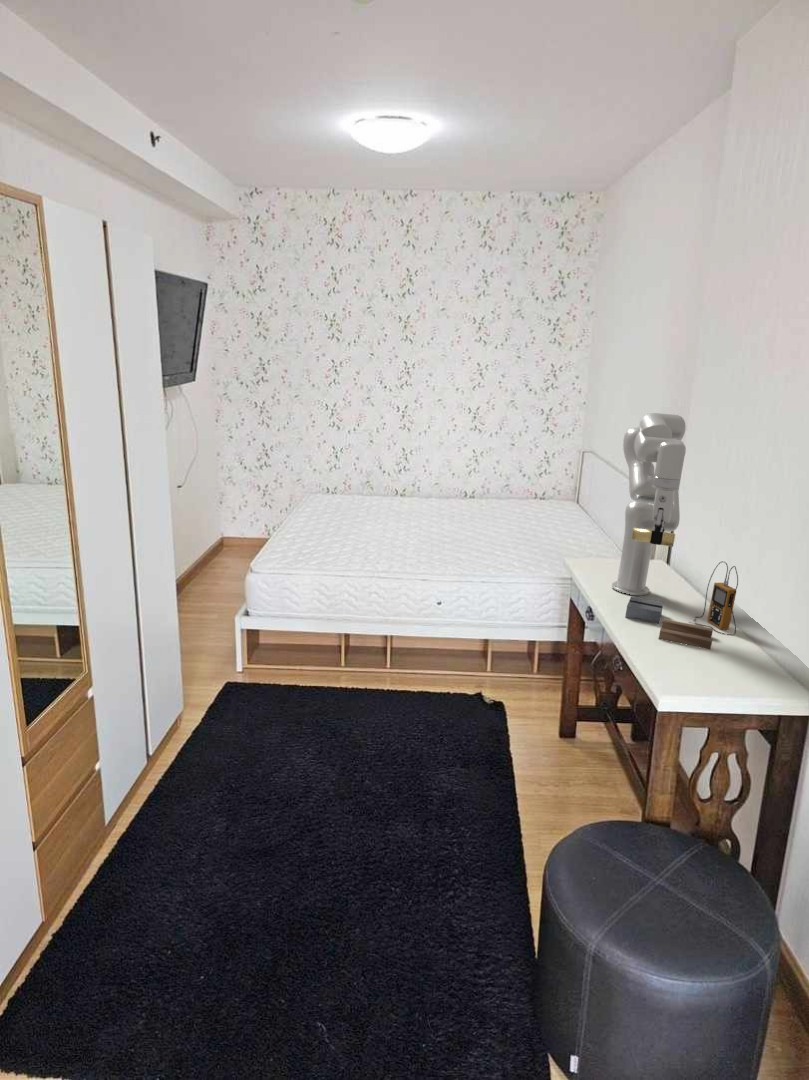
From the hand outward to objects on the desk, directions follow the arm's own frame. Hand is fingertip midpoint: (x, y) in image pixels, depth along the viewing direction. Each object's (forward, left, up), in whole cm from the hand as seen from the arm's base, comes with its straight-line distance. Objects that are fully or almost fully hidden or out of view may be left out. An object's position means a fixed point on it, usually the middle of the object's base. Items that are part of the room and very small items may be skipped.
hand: (656, 541), depth 221 cm
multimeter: (-3, +19, -24) cm, 31 cm away
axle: (0, -1, +1) cm, 2 cm away
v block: (0, 0, -24) cm, 24 cm away
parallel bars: (+12, +13, -24) cm, 30 cm away
